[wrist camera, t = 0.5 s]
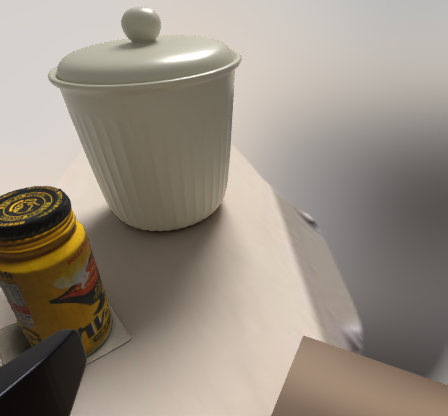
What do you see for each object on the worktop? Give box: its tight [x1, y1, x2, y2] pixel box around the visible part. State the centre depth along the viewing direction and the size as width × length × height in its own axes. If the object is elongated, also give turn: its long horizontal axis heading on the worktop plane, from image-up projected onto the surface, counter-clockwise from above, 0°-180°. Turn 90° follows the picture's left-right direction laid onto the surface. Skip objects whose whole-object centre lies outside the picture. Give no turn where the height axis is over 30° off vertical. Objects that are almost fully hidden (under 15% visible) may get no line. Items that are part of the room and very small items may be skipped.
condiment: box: [0, 186, 131, 365], centre depth 26 cm, size 7×8×12 cm
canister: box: [48, 7, 241, 231], centre depth 39 cm, size 18×18×21 cm
